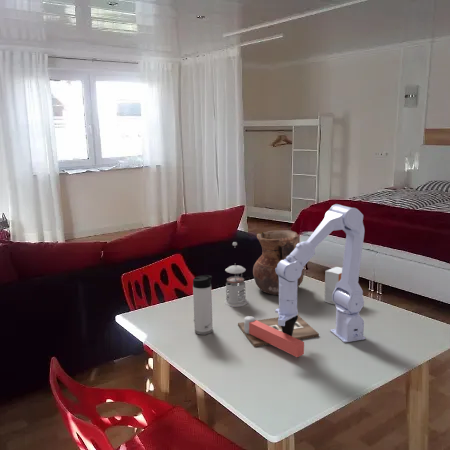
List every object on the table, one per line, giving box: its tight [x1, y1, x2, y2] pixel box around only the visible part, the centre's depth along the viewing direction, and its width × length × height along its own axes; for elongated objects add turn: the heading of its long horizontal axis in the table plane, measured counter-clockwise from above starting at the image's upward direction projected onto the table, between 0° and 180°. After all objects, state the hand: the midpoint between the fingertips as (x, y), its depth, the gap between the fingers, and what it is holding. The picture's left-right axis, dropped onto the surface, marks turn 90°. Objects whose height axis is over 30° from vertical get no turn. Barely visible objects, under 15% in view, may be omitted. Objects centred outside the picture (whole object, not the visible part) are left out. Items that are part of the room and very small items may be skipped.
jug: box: [252, 229, 305, 296], centre depth 196 cm, size 22×21×25 cm
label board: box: [237, 314, 320, 348], centre depth 158 cm, size 17×23×1 cm
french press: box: [223, 241, 249, 308], centre depth 184 cm, size 10×12×25 cm
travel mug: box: [192, 274, 214, 336], centre depth 157 cm, size 6×7×20 cm
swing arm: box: [243, 315, 305, 358], centre depth 147 cm, size 4×25×4 cm, turn 39°
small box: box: [324, 266, 342, 306], centre depth 183 cm, size 8×6×13 cm
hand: (287, 338), depth 146 cm, fingers closed
